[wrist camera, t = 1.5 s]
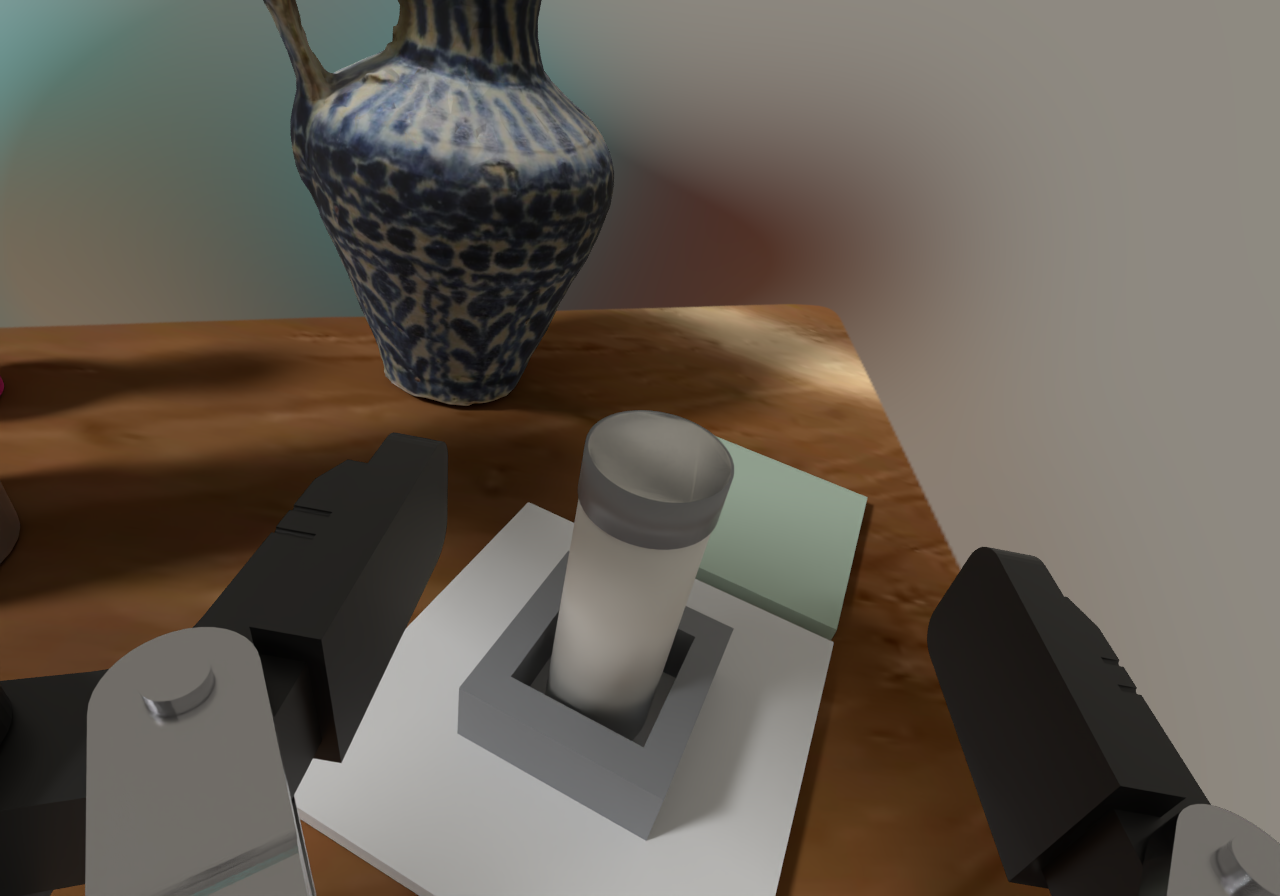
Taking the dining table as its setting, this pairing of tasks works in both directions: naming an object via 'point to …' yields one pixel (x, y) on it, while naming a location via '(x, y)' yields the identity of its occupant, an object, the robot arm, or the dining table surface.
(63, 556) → the dining table surface
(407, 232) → the jug
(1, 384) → the pepper mill
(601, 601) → the cartridge
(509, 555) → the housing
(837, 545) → the mat
